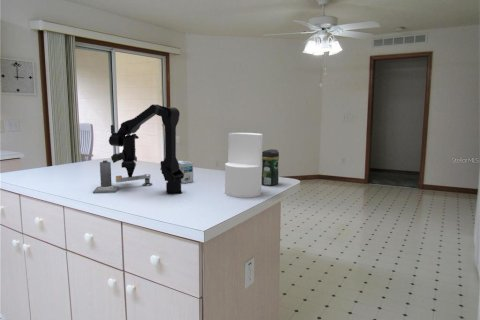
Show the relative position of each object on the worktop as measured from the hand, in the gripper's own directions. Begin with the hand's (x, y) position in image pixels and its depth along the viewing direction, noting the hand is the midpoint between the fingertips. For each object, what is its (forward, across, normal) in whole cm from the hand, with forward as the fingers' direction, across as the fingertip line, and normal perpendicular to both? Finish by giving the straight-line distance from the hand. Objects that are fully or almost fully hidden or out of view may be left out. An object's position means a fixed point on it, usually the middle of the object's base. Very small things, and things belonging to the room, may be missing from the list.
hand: (130, 178), depth 173 cm
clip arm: (+1, +1, +2) cm, 2 cm away
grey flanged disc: (+4, -2, +8) cm, 10 cm away
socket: (+4, +6, -11) cm, 13 cm away
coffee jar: (+4, +8, +71) cm, 72 cm away
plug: (+3, +6, -10) cm, 12 cm away
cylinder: (+3, +23, +53) cm, 58 cm away
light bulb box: (+5, -8, +27) cm, 28 cm away
